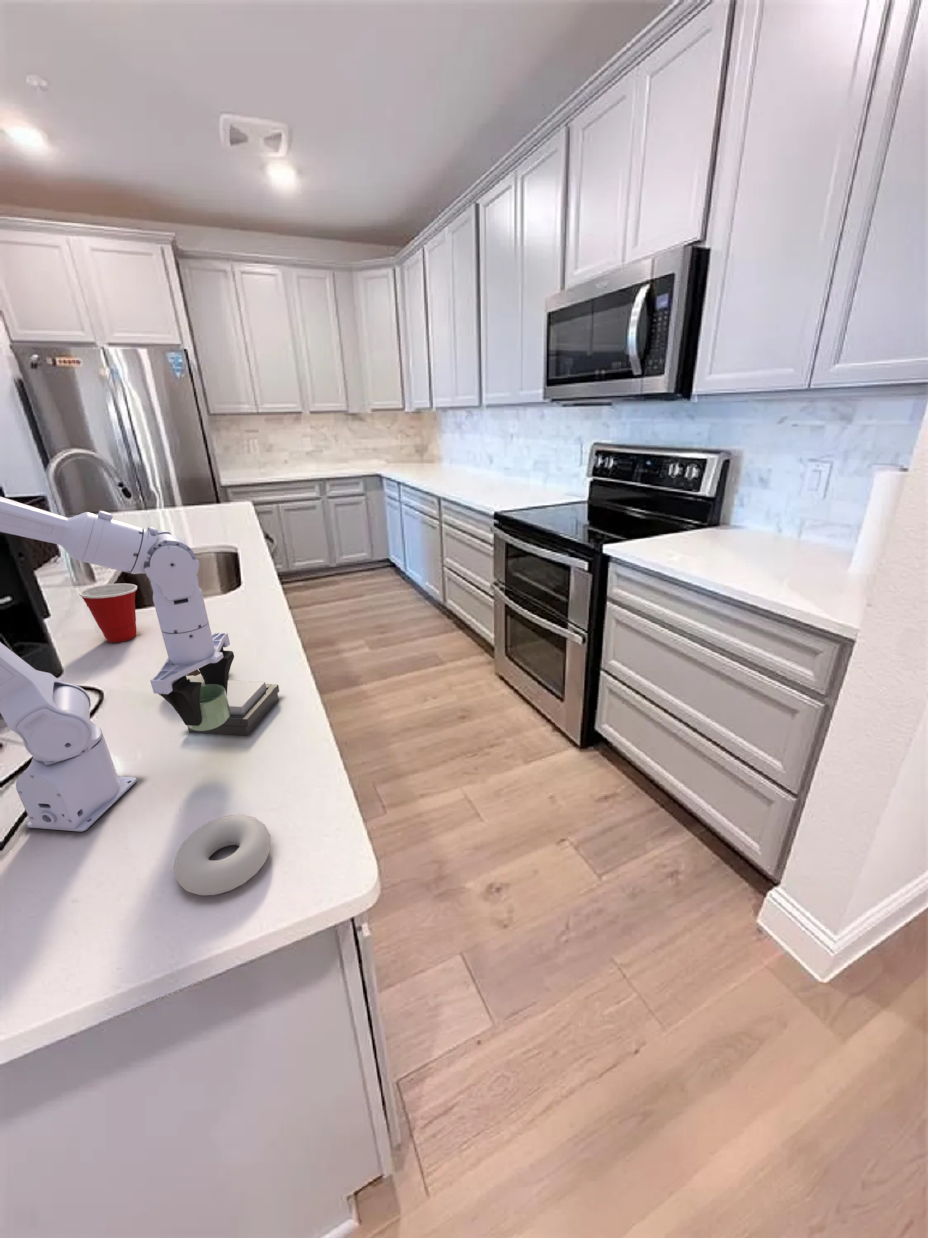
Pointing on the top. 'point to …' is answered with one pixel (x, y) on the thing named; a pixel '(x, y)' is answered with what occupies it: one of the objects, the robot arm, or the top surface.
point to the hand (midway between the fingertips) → (206, 711)
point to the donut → (230, 871)
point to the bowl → (212, 707)
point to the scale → (247, 715)
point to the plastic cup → (113, 610)
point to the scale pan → (243, 695)
